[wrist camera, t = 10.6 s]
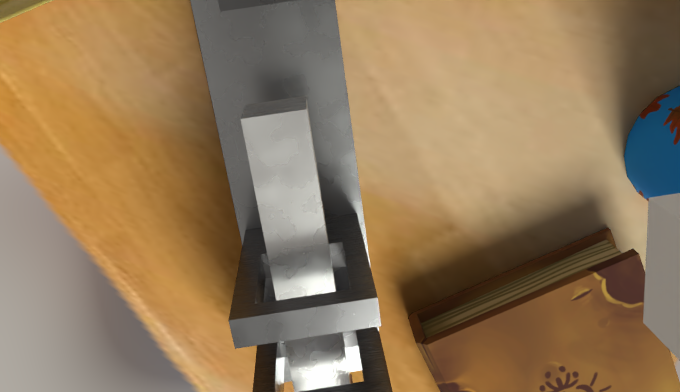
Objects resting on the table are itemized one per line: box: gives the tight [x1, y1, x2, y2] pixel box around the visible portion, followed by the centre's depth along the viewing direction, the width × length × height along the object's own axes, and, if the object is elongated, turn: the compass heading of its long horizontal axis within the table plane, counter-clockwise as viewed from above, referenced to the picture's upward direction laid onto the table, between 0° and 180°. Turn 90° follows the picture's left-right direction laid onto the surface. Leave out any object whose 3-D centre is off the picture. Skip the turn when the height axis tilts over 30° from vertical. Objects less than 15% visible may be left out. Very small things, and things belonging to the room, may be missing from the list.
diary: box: [408, 228, 680, 392], centre depth 56 cm, size 23×19×6 cm
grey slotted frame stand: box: [190, 0, 392, 392], centre depth 43 cm, size 36×10×15 cm, turn 8°
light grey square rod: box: [241, 96, 353, 392], centre depth 44 cm, size 26×4×4 cm, turn 8°
